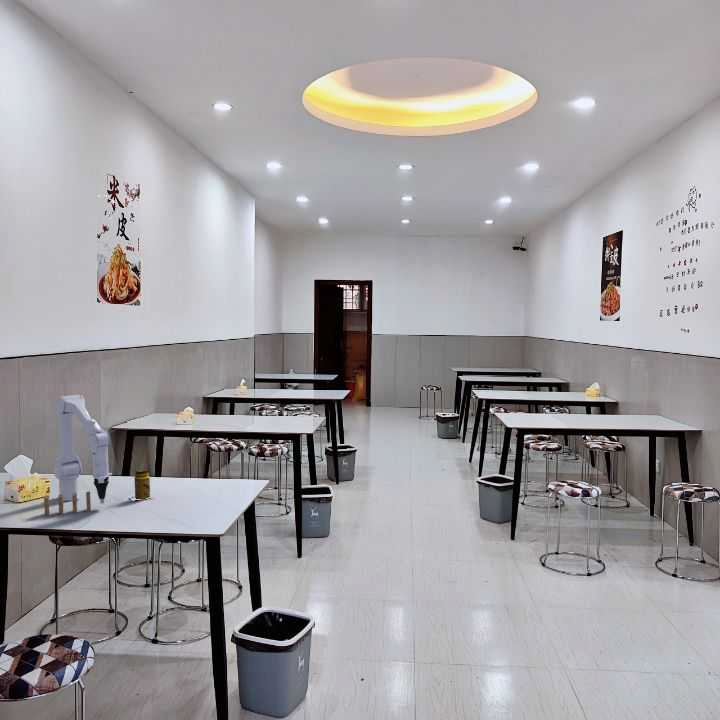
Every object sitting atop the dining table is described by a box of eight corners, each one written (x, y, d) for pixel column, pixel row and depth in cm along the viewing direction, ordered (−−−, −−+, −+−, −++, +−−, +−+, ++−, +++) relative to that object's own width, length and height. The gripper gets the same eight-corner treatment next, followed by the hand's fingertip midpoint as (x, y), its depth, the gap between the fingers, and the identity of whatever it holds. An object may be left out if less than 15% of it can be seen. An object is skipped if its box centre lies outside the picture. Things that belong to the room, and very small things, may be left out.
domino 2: (59, 511, 276) (58, 494, 276) (63, 511, 277) (62, 493, 276) (58, 514, 272) (58, 496, 272) (62, 514, 273) (62, 496, 272)
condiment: (153, 498, 294) (152, 470, 294) (132, 502, 290) (131, 473, 289) (148, 495, 301) (147, 467, 300) (127, 498, 296) (126, 470, 295)
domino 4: (86, 509, 280) (86, 491, 279) (90, 508, 280) (90, 491, 280) (86, 512, 276) (86, 494, 275) (90, 511, 276) (89, 494, 276)
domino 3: (73, 510, 278) (72, 493, 278) (77, 510, 279) (76, 492, 278) (72, 513, 274) (72, 495, 274) (76, 513, 274) (76, 495, 274)
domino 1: (45, 513, 275) (44, 495, 274) (49, 512, 275) (48, 495, 275) (44, 516, 271) (44, 498, 270) (48, 515, 271) (48, 497, 271)
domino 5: (100, 500, 281) (99, 483, 281) (104, 500, 282) (103, 483, 281) (100, 503, 277) (99, 486, 277) (104, 503, 278) (103, 485, 277)
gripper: (111, 465, 273) (112, 500, 274) (111, 458, 287) (112, 491, 288) (92, 467, 271) (93, 502, 272) (92, 460, 284) (93, 493, 285)
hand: (101, 497), depth 279 cm, fingers closed on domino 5, 4 cm apart
